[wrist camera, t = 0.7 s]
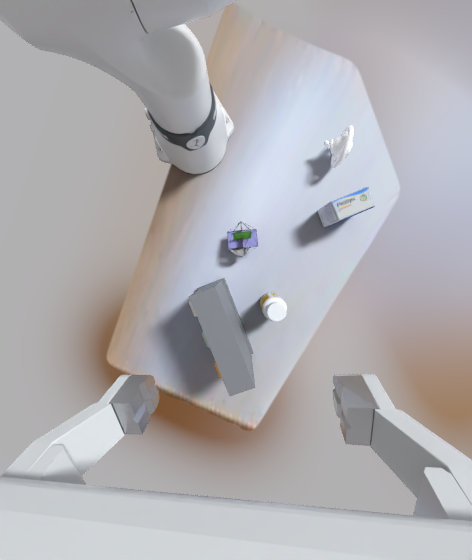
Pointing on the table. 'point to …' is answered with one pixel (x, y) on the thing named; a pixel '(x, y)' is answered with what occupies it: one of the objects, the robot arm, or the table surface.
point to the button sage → (205, 339)
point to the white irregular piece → (340, 146)
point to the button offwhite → (192, 309)
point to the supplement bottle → (273, 307)
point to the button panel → (225, 335)
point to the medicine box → (346, 207)
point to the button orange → (217, 370)
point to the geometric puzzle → (242, 240)
